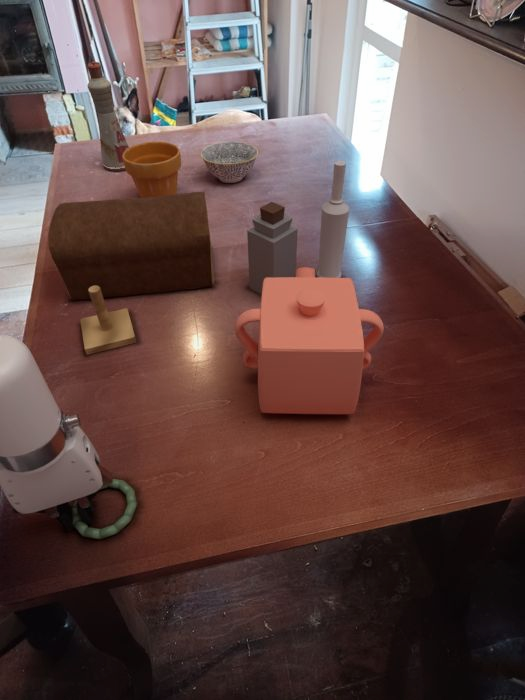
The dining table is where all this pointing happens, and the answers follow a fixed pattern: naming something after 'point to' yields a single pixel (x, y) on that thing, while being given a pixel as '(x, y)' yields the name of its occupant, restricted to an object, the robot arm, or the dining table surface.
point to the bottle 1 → (107, 119)
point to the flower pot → (153, 168)
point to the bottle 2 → (333, 227)
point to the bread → (133, 245)
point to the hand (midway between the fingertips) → (79, 517)
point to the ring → (114, 528)
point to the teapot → (309, 344)
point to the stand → (105, 326)
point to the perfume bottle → (271, 246)
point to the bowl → (229, 160)
